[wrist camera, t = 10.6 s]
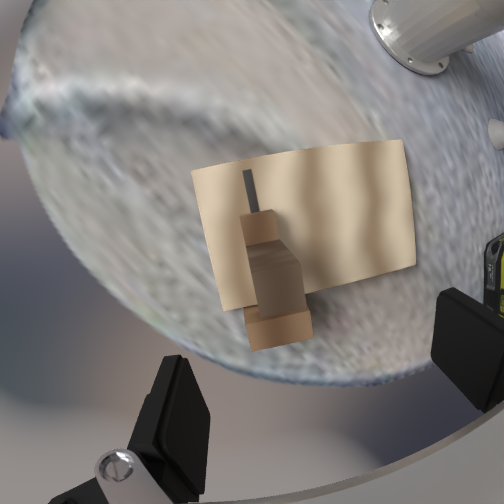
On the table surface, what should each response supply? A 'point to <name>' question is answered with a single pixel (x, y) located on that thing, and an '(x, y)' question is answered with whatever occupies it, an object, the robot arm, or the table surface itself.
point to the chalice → (496, 133)
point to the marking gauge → (273, 286)
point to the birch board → (311, 214)
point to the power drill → (494, 275)
